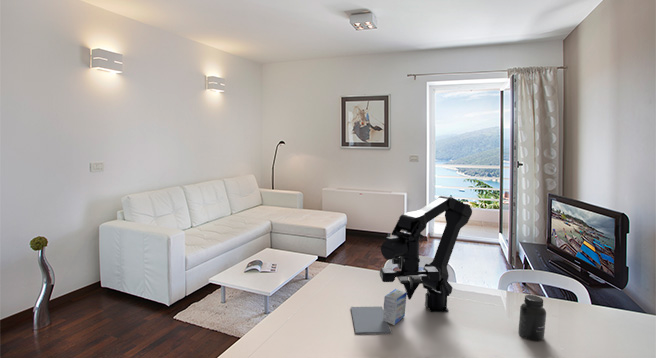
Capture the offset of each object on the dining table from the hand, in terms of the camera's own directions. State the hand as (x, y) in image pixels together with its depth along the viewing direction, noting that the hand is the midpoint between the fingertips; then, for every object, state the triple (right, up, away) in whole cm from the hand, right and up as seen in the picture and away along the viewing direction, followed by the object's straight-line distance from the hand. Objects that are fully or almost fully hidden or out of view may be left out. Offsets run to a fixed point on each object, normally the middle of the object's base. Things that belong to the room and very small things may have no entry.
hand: (409, 299), depth 114 cm
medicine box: (-5, -7, +1) cm, 9 cm away
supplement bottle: (+35, -8, -8) cm, 37 cm away
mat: (-13, -7, 0) cm, 15 cm away
